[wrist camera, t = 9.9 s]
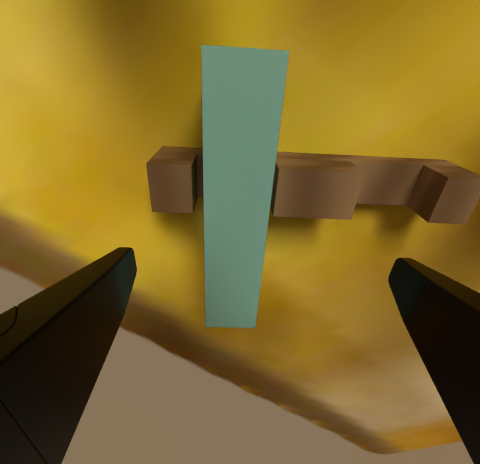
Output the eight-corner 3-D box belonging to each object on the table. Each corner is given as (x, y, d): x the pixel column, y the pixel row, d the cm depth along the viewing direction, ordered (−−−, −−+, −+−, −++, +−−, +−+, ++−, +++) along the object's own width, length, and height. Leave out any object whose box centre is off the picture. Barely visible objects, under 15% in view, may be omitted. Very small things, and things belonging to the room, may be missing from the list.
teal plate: (215, 54, 16) (201, 45, 9) (266, 58, 16) (289, 50, 9) (214, 250, 23) (205, 326, 16) (249, 251, 23) (255, 328, 17)
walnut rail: (445, 160, 20) (489, 179, 16) (428, 198, 21) (465, 223, 18) (162, 146, 19) (146, 163, 15) (166, 187, 20) (152, 211, 17)
